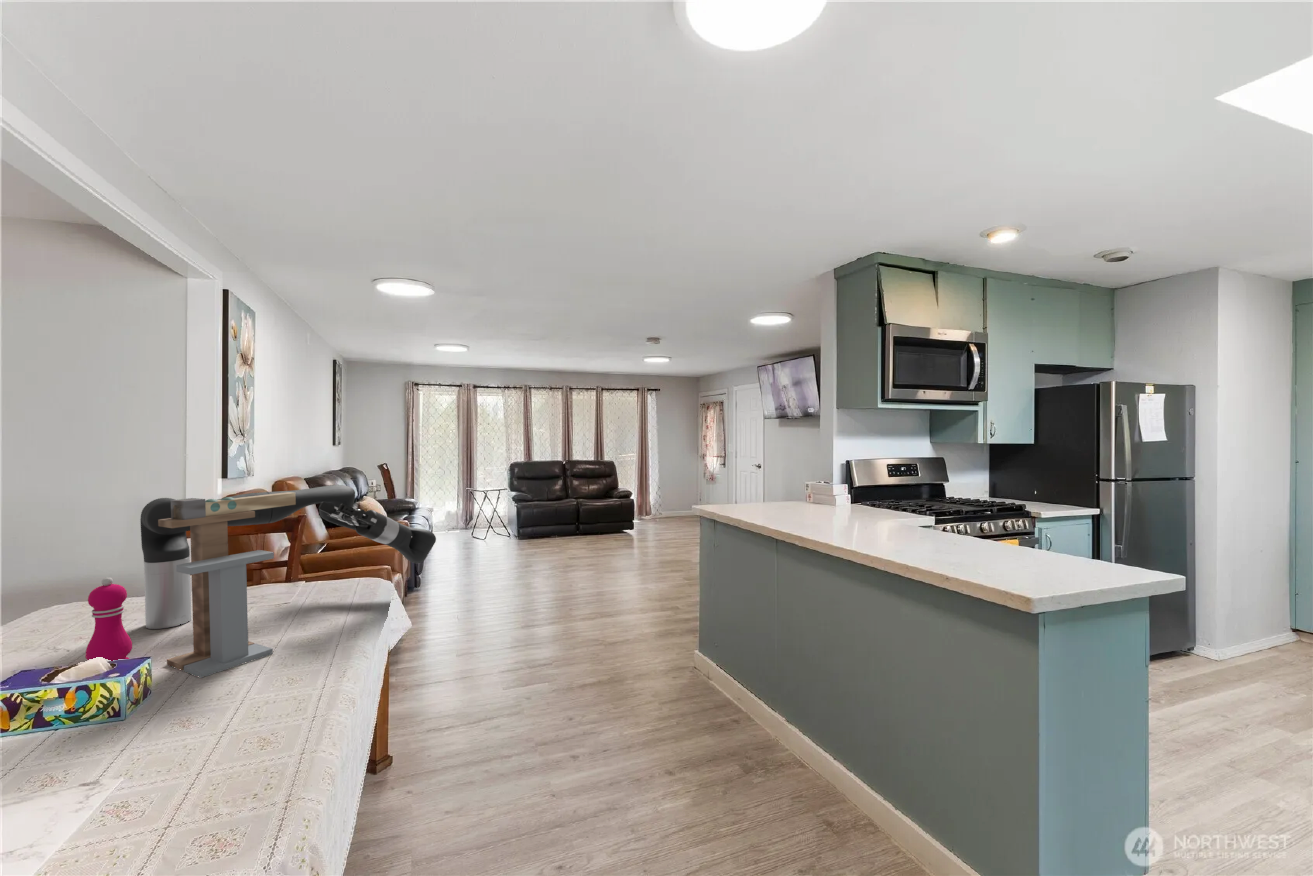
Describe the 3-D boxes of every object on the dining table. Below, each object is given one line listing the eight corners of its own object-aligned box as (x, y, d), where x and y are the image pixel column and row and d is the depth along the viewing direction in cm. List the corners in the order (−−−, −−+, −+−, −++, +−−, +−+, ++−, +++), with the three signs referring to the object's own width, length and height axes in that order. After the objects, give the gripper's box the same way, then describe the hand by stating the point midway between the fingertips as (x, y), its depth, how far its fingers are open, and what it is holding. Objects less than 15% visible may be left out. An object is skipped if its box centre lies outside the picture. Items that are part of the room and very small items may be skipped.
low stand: (178, 673, 120) (175, 564, 119) (260, 647, 134) (258, 549, 133) (194, 680, 116) (191, 568, 116) (277, 652, 130) (275, 552, 130)
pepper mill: (103, 679, 117) (100, 583, 117) (76, 676, 118) (73, 581, 118) (141, 665, 124) (139, 573, 124) (115, 662, 126) (113, 572, 125)
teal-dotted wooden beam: (171, 518, 123) (170, 500, 123) (285, 503, 146) (284, 488, 146) (184, 519, 122) (184, 501, 121) (298, 504, 145) (297, 489, 144)
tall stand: (161, 666, 123) (157, 519, 122) (243, 641, 137) (240, 509, 137) (176, 672, 120) (172, 521, 119) (259, 646, 134) (256, 511, 133)
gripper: (367, 514, 170) (320, 492, 157) (399, 517, 163) (352, 494, 151) (356, 537, 167) (307, 517, 154) (388, 541, 160) (339, 521, 148)
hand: (329, 506), depth 152 cm, fingers open, 8 cm apart
